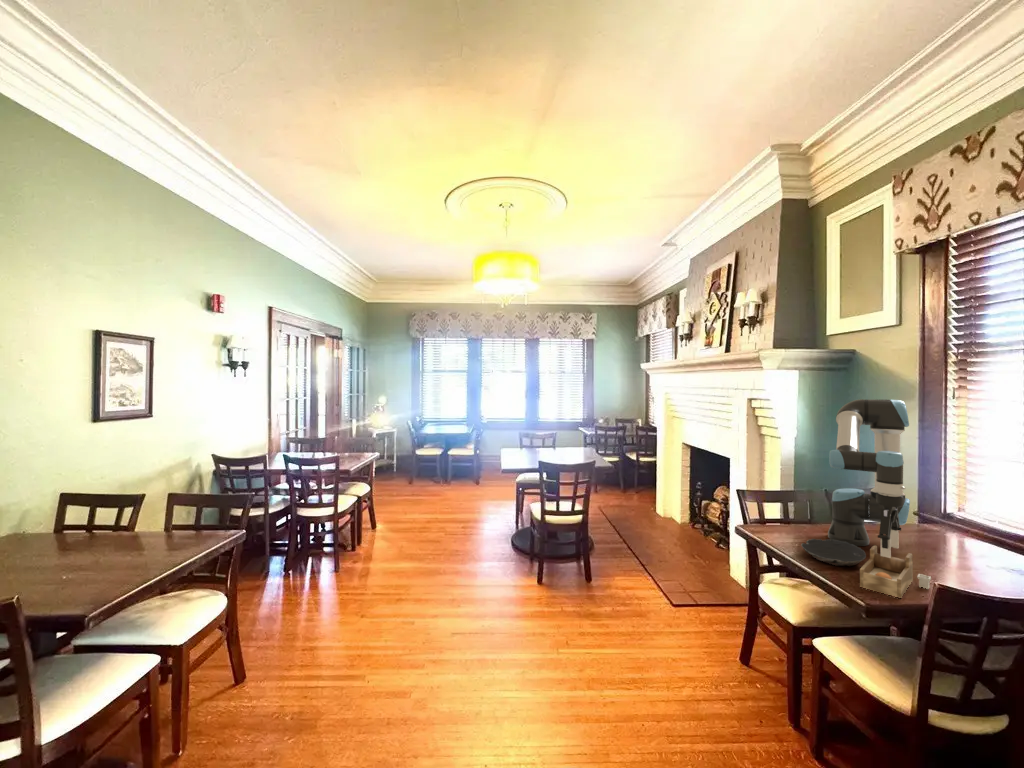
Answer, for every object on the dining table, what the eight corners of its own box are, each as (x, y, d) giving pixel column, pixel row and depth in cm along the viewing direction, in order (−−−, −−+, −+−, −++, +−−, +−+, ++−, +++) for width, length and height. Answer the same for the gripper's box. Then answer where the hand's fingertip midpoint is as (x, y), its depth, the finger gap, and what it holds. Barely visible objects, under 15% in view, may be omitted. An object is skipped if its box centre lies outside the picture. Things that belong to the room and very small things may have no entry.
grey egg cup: (917, 586, 155) (917, 576, 155) (918, 584, 157) (918, 573, 157) (929, 590, 152) (929, 579, 152) (931, 587, 154) (931, 576, 154)
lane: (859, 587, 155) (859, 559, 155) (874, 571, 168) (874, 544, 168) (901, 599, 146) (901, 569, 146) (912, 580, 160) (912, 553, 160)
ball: (872, 576, 154) (875, 567, 157) (873, 587, 155) (876, 579, 158) (890, 580, 150) (893, 572, 153) (891, 593, 151) (894, 584, 154)
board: (882, 566, 172) (881, 553, 172) (840, 576, 166) (840, 563, 166) (827, 546, 193) (826, 535, 193) (788, 555, 187) (788, 543, 187)
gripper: (895, 502, 150) (896, 564, 150) (909, 490, 165) (909, 546, 165) (868, 497, 155) (868, 557, 155) (884, 486, 171) (884, 541, 171)
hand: (889, 552), depth 160 cm, fingers open, 13 cm apart
